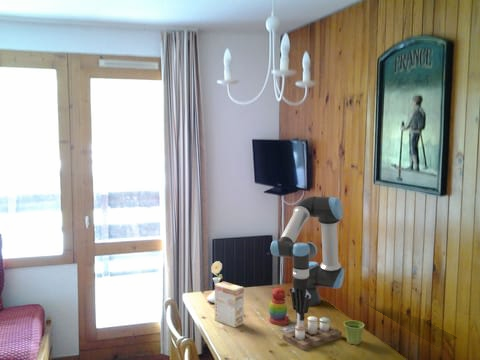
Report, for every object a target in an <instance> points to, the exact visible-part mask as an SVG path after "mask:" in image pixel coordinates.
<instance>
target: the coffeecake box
mask: <svg viewBox="0 0 480 360" xmlns="http://www.w3.org/2000/svg"><path fill="white" fill-rule="evenodd" d="M214 290H215V303H214V321H216V322H219V323H221V324H224V325H227V326H229V327H233V328H234V329H235V328H237V327H240V326H242V325H244V323H245V321H244V317H245V316H244V312H245V309H244V308H245V307H244V303H245V301H244V295H245V294H244V290H245V287H244V286H242V285H241V286H240V285H237V284H233V283H230V282H227V281H222V282H220V281H219V283H217V284H215V283H214Z"/></svg>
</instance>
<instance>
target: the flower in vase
mask: <svg viewBox="0 0 480 360" xmlns="http://www.w3.org/2000/svg"><path fill="white" fill-rule="evenodd" d="M210 267H211V268H210V269H211V271H210V272H211V273H212V274H213V275H214V276H216V277H212V281H213V283H214V285H215V284H217V283H220V281H221V280H222V279H223V278H224V277H223V274H222V273H221V274H220V272H221V270H222V269H223V263H221V262H220V260H218V261H217V260H216V261H214V263H212V265H211V266H210ZM206 298H207V299H206V300H207V301H208V302H210V303H212V304H215V289H214V290H213V291H212V293H210V294H209V295H208V296H207V297H206Z"/></svg>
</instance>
